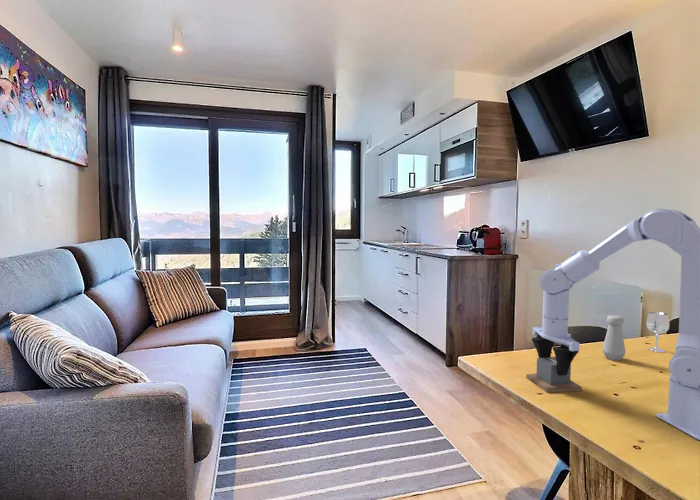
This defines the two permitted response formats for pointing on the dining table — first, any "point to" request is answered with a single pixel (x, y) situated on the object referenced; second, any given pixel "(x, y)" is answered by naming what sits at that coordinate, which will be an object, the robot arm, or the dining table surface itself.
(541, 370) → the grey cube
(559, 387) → the base
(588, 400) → the dining table surface
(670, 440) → the dining table surface
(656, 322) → the wineglass
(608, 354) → the salt shaker
